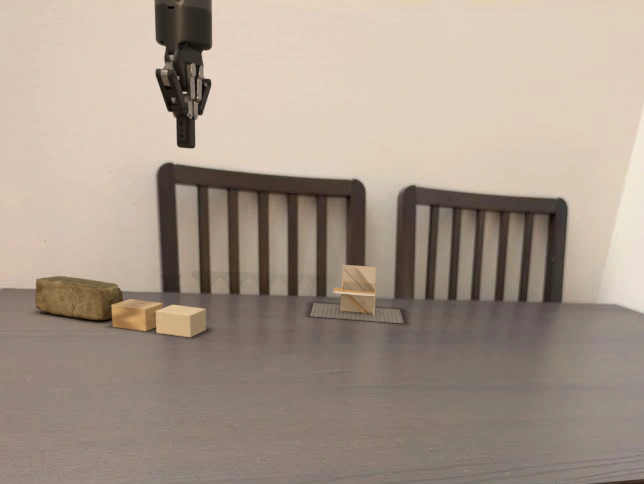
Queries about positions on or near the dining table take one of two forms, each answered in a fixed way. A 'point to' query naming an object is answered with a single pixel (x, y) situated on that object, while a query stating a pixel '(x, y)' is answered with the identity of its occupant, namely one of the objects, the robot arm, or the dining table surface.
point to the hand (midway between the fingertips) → (186, 147)
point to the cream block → (180, 320)
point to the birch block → (135, 314)
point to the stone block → (77, 297)
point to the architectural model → (357, 298)
